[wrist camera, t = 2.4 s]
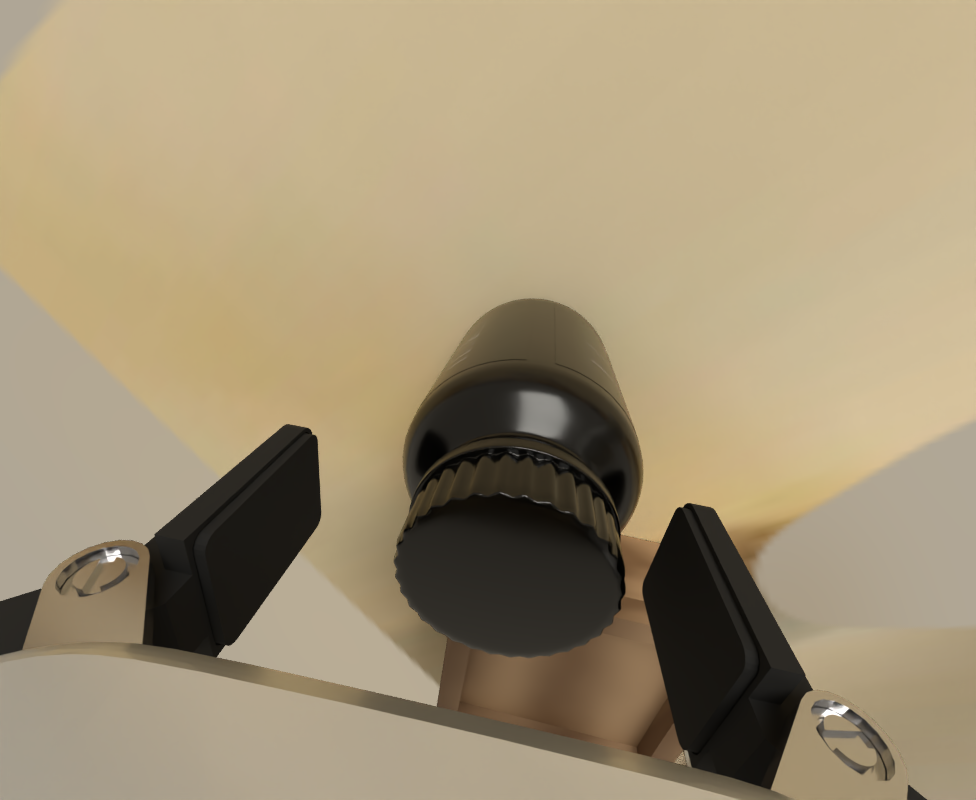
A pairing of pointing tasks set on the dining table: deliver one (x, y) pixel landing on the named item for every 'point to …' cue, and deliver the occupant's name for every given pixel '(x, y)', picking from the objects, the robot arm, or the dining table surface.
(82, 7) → the dining table surface
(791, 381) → the dining table surface
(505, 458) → the supplement bottle
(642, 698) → the walnut tray
